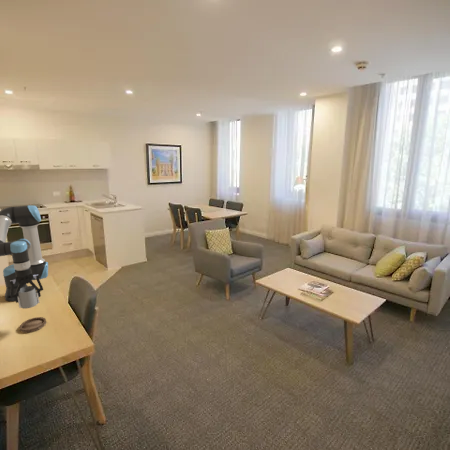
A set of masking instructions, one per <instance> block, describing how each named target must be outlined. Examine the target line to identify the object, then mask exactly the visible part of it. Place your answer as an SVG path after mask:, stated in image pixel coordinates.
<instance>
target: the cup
mask: <svg viewBox="0 0 450 450" xmlns="http://www.w3.org/2000/svg"><path fill="white" fill-rule="evenodd" d="M18 293H19V299H20V304H21V308H20V309H30V308H33V307H36V306H37V305H38V304H39V303H38V300H37V294H36V290H35V288H34V287H33V286H32V285H27V286H26V287H23V288H21V289H20V291H19V292H18Z"/></svg>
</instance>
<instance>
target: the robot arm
mask: <svg viewBox="0 0 450 450" xmlns="http://www.w3.org/2000/svg"><path fill="white" fill-rule="evenodd" d="M41 221H42V218H41V213H40V211H39V208H38V207H37V206H36V205H30V204H29V205H27V204H26V205H18V206H17V205H16V206H8V207H5V208H3V209H2V210H0V257H4V256H12V257H11V258H12V264H11V265H8V266H6V267H4V268H3V272H2V274H3V275H2V276H3V278H4V284H5V289H6V290H5V294H4V299H5V301H7V302H15V303H16V304H17V303H18V307H19V309H22V308H21V304H20V299H19V293H18V292H19V291H20V289H21V288H23V287H26V286H28V284H30V286H33V287H34V288H35V290H36V294H37V300H38V304H40V297H41V296H42V295H41V291H43V290H44V287H43V285H42V283H41V280H43V279H47V277H48V276H49V262H48V261H46V259H44V258H43V254H42V249H41V243H40V237H39V230H38V226H39V225H40V222H41ZM11 225H18V227H19V228H21V229H22V233H23V235H22V236H23V238H20V239H17V240H15V241H14V240H13V241H8V242H6V240H7V236H8V231H9V227H11ZM34 281H36V282H37V284H38V286H39V287H38V286H37V285H36V284H35V282H34Z"/></svg>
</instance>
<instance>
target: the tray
mask: <svg viewBox="0 0 450 450" xmlns="http://www.w3.org/2000/svg"><path fill="white" fill-rule="evenodd" d="M46 325H47V320H46V318H45V317H44V316H38V317H37V316H36V317H33V318H28V319H27V320H25V321H23V322H22V323H21V324H20V325H19V330H20V332H22V333H25V334H27V333H34V332H37V331H39V330H41V329H43V328H44V327H45V326H46Z"/></svg>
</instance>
